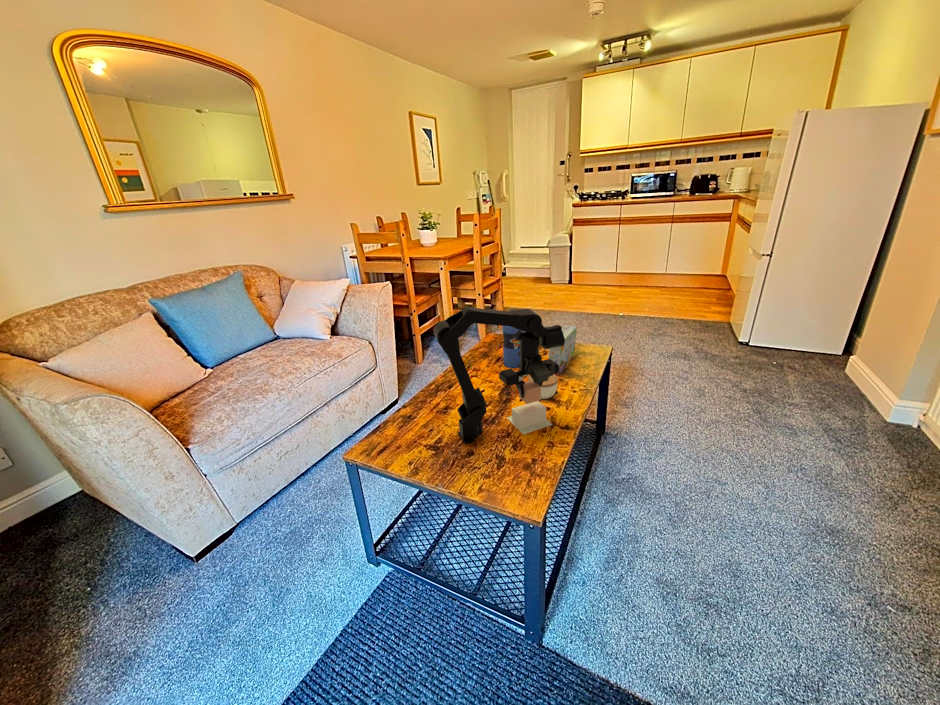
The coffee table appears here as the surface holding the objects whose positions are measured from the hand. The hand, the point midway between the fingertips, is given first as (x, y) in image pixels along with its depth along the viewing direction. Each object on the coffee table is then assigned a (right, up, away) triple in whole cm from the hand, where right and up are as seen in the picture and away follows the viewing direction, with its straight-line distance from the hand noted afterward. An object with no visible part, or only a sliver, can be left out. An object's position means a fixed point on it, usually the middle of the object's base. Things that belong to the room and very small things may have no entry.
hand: (529, 395), depth 126 cm
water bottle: (0, +9, +48) cm, 49 cm away
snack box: (+21, +8, +44) cm, 49 cm away
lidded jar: (+8, -3, +21) cm, 23 cm away
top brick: (0, -1, 0) cm, 1 cm away
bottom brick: (+1, -9, +5) cm, 10 cm away
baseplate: (+1, -10, +5) cm, 11 cm away
